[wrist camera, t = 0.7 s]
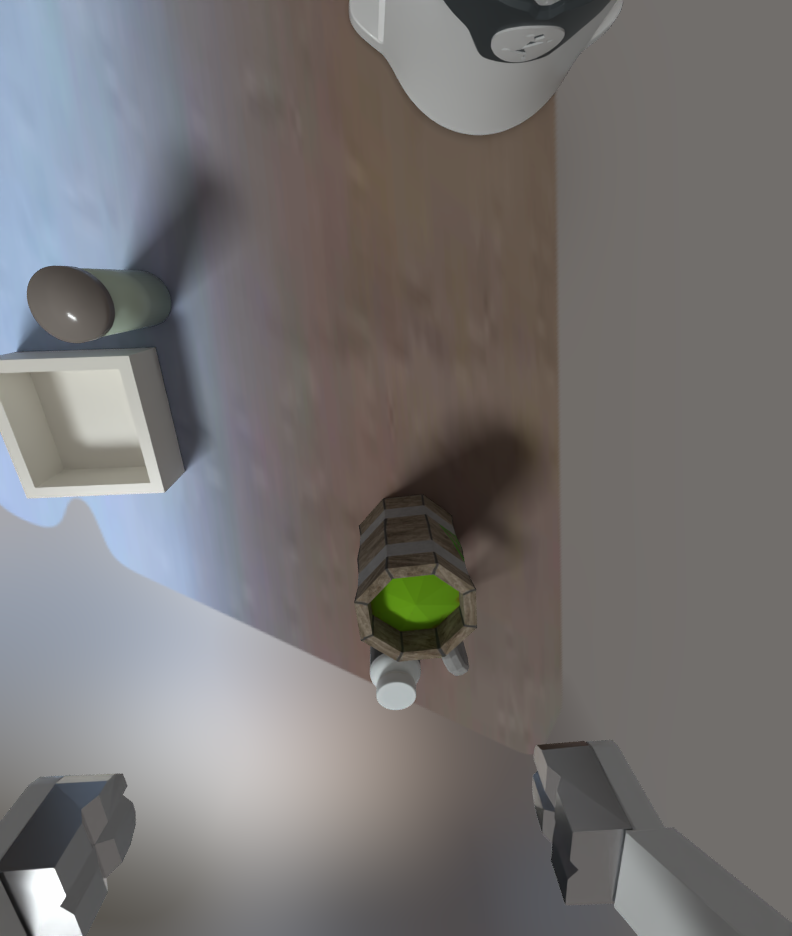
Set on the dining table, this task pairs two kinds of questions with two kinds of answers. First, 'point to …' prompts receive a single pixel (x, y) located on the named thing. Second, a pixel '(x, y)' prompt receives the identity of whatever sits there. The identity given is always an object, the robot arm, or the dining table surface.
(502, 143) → the dining table surface
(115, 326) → the spice jar
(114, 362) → the bin
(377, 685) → the pill bottle
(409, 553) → the mug
